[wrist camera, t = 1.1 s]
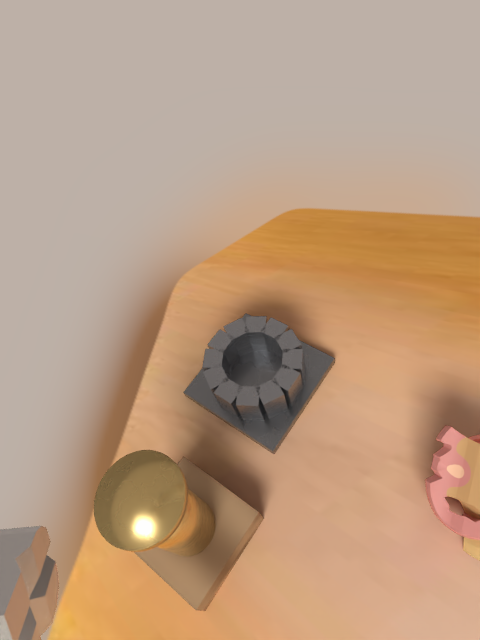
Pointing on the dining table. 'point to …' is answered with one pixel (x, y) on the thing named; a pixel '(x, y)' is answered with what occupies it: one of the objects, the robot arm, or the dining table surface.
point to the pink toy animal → (457, 486)
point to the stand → (221, 554)
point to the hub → (259, 378)
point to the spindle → (151, 507)
